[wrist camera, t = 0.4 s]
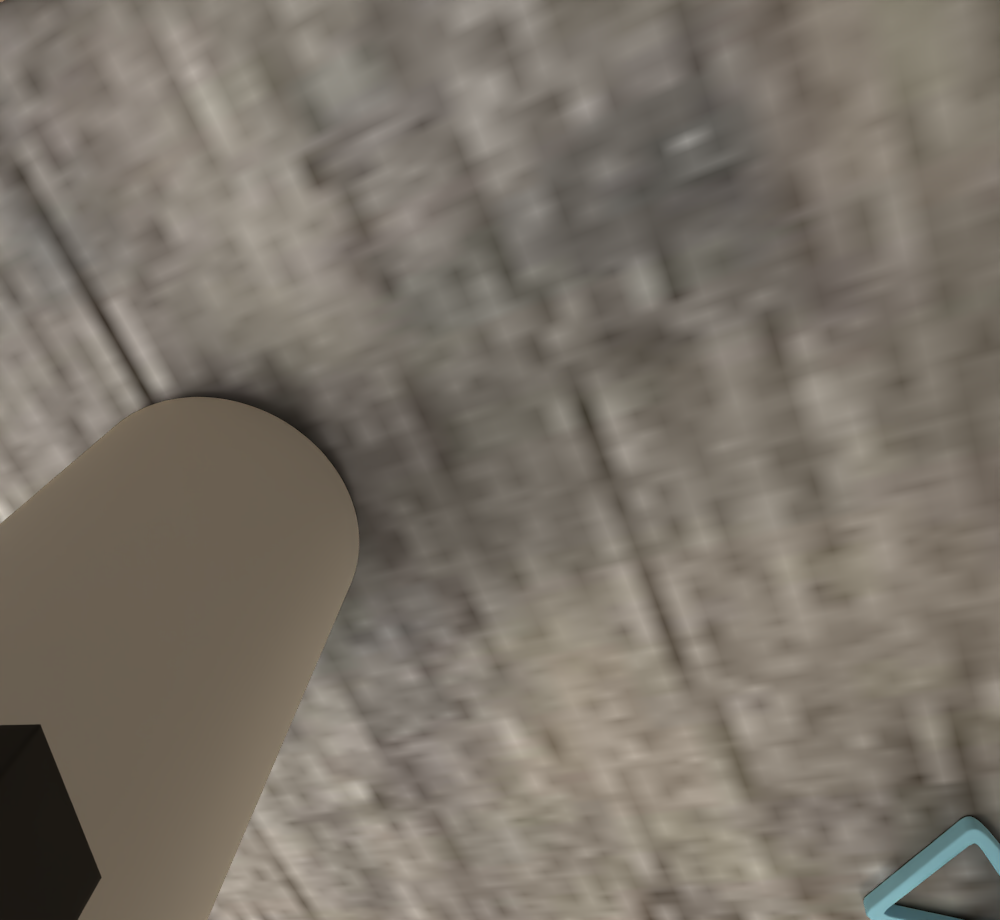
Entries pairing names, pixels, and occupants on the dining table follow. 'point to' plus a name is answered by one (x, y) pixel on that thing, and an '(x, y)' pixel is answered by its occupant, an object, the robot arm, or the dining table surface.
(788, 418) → the dining table surface
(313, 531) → the cylinder vase
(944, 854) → the light blue openwork stand
